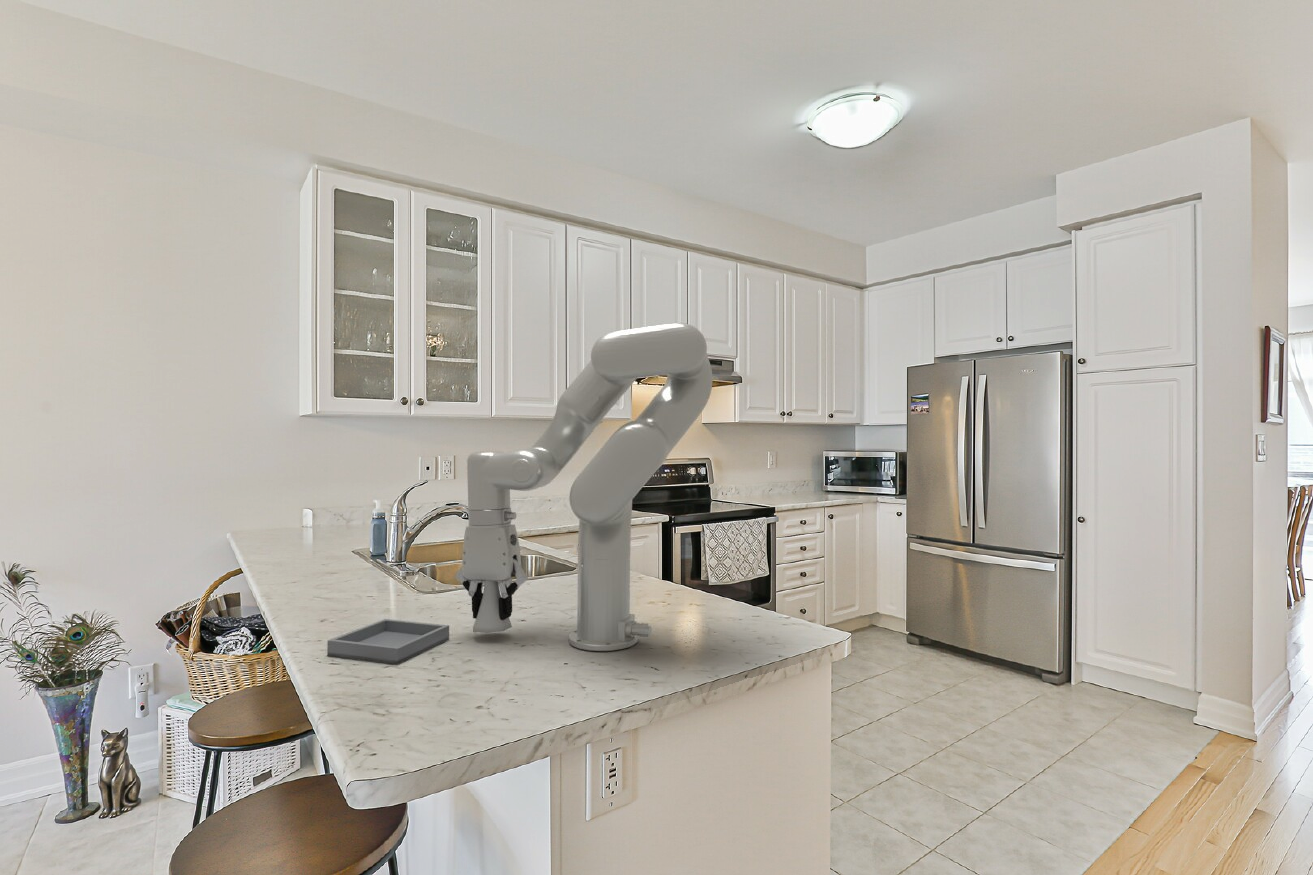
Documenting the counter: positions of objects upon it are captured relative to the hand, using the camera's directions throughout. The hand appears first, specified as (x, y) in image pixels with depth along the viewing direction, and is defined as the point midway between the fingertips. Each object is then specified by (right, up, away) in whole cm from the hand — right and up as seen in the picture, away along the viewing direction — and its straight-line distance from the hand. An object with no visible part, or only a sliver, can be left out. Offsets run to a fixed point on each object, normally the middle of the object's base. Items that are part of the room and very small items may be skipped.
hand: (492, 616), depth 119 cm
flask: (0, -2, 0) cm, 2 cm away
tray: (-16, -4, -6) cm, 18 cm away
